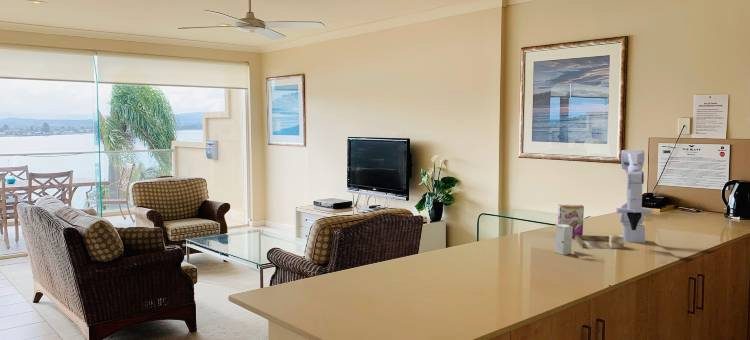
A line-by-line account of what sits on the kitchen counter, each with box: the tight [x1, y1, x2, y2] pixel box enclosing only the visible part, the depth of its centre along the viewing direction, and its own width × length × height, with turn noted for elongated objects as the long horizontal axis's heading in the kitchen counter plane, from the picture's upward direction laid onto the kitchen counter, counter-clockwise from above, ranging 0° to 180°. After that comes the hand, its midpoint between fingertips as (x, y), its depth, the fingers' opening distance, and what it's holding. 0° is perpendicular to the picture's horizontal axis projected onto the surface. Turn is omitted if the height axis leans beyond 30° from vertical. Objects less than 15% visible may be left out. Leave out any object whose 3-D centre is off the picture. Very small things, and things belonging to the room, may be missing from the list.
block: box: [608, 234, 625, 248], centre depth 259 cm, size 5×5×5 cm
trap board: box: [574, 234, 626, 251], centre depth 265 cm, size 18×20×3 cm
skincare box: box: [554, 224, 573, 256], centre depth 251 cm, size 6×4×12 cm
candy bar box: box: [557, 203, 585, 238], centre depth 284 cm, size 11×5×16 cm, turn 84°
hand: (633, 229), depth 257 cm, fingers closed
